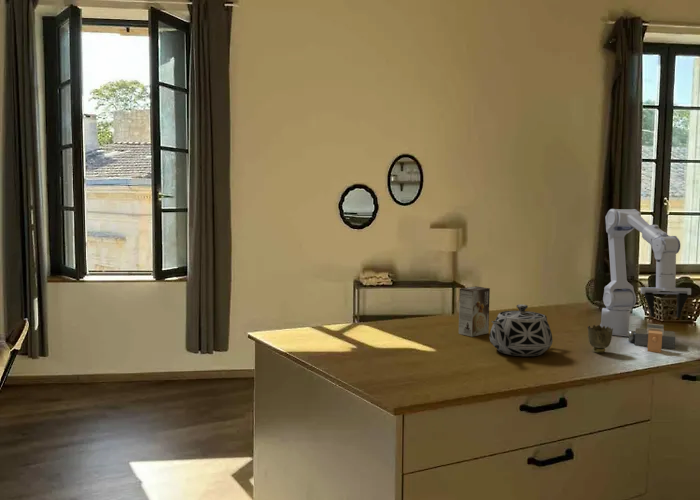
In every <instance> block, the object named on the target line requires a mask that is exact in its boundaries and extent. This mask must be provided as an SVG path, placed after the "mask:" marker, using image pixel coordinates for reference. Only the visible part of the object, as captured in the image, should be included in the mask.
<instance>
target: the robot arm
mask: <svg viewBox="0 0 700 500" xmlns="http://www.w3.org/2000/svg"><path fill="white" fill-rule="evenodd" d="M634 229H635V230H637V231H638V232H639V233H641V237H642V239H643V240H644V241H646V242H647V243H648V244H649V245H650V246H651V247H652V251H653V255H654V256H653V257H654V259H655V260H656V261H655V263H656V264H655V267H656V268H655V286H653V287H652V286H650V287H649V286H647V287H645V286H642V287H640V294H642V295H643V296H644V298H645V300H646V302H647V306H648V309H649V313H650V317H651V318H654V317H655V307H654V306H655V305H654V304H655V295H657V294H658V295H659V294H660V295H676V317H677V318H681V315H682V310H683V307H684V305H685V303H686V301H687V300H688V299H689V295H690V296H691V295H692V288H691V287H687V288H686V287H676V286H677V285H676V284H677V283H676V282H677V281H676V279H677V278H676V275H677V274H676V273H677V254H679V252H680V250H681V241H680V239H679V238H678V237H677V236H676V235H669V234H668V233H667V232H666V231H663V229H661V228H660V226H659V225H658V224H649V223H648V222H647V221H646V220H645V219H644V218H643V217H642V215H641V212H640V211H638V209H636V208H633V209H625V208H624V209H622V208H621V209H617V208H610V209H609V210H608V211H607V213H606V215H605V231H606V233H607V238H608V240H607V241H608V254H609V271H610V282H609V283H608V284H607V285H605V286H604V288H603V289H604V290H603V297H602V301H603V304H604V306H605V307H602V309H601V318H600V319H601V320H600V321H601V322H600V324H599V325H600V326H601V327H603V326H605V329H606V327H609V328H611V329H612V328H613V332H612V336H617V337H618V336H619V337H628V338H629V331H630V330H629V328H630V317H631V316H630V315H631V311H632V310H633V308H634V307H635V306H636V303H637V296H636V293H635V290H634V285H632V284H631V283H630V282H628V279H627V277H628V275H627V264H626V249H625V248H626V246H625V245H626V244H625V237H626V235H627V234H629V233H630V232H632V231H633V230H634Z"/></svg>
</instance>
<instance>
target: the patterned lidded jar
mask: <svg viewBox="0 0 700 500" xmlns="http://www.w3.org/2000/svg"><path fill="white" fill-rule="evenodd" d="M528 307H529V305H527V304H521V303H520V304H517V305H516V308H517V309H518V310H504V311H501V312H499V313H498V314H497V315H496V316H497V317H496V318H495V320H492V321H491V323H492V326H491V328H490V330H489V331H490V332H489V341H490V343H491V345H492V346H493V347H494V348H495V349H496V350H497V351H498V352H499V353H502V354H505V355H509V356H515V357H536V356H541V355H543V354H544V353H545V352H546V351H548V350H549V349H550V348H551V346H552V344H553V334H552V331H551V328H550V325H549V323H548V318H547V315H546V314H542V313H540V312H537V311H536V312H534V311H530V310H529V311H527V309H528Z"/></svg>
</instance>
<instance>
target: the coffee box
mask: <svg viewBox="0 0 700 500" xmlns="http://www.w3.org/2000/svg"><path fill="white" fill-rule="evenodd" d="M490 290H491V288H489V287H483V286H476V285H475V286H469V287H462V288H459V300H458V301H459V303H458V305H459V306H458V308H459V309H458V334H459V335H462V336H468V337H472V338H473V337H477V336H482V335H486V334H490V332H489V331H490V330H489V329H490V328H489V327H490V323H489V322H490V296H491V295H490V294H491V291H490Z"/></svg>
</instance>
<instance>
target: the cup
mask: <svg viewBox="0 0 700 500" xmlns="http://www.w3.org/2000/svg"><path fill="white" fill-rule="evenodd" d="M612 332H613V328H612V329H611V328H609V327H606V329H605V326H603V327H601V326H600V324H598V325H595V324H593V325H592V327H591V326H590V325H589V326H587V333H588V343H589V344H590V346H591V347H593V348H592V350H593V352H594V353H596V354H604V353H605V352H606V349H607V348H608V347H609V346H610V345H611V342H612V336H613V335H612Z"/></svg>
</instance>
